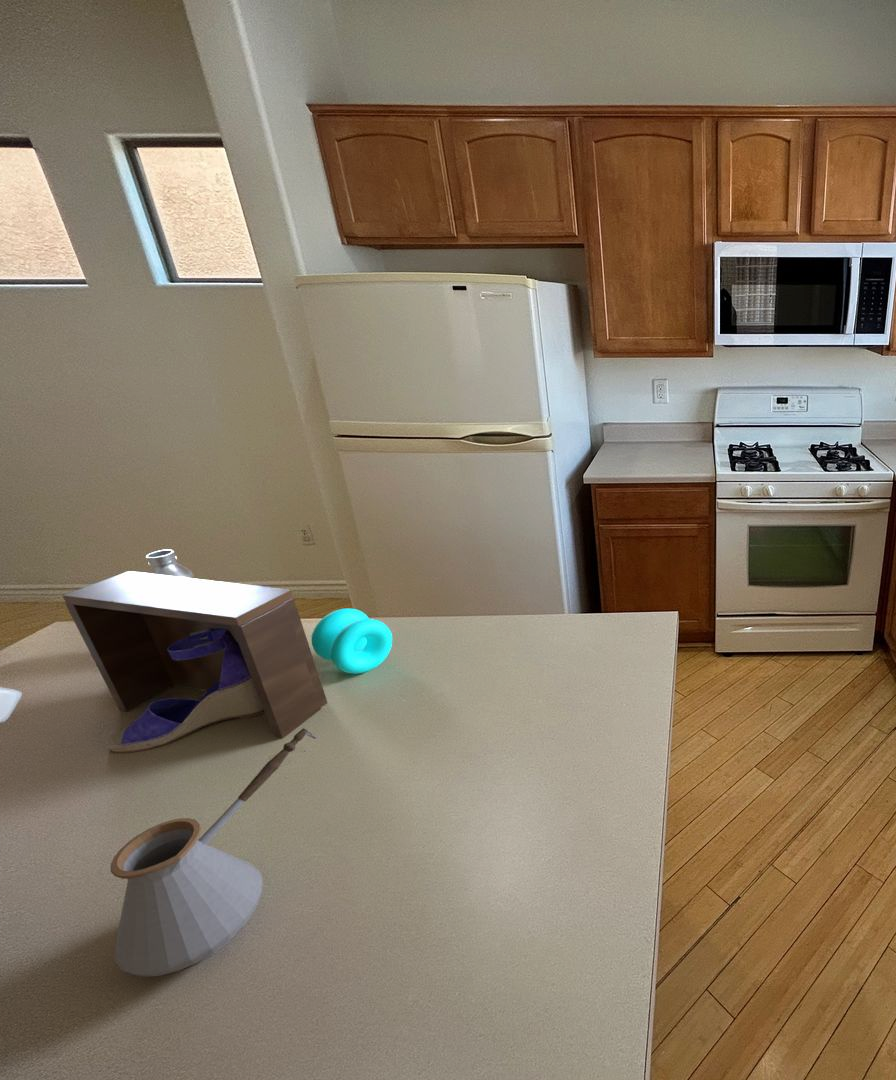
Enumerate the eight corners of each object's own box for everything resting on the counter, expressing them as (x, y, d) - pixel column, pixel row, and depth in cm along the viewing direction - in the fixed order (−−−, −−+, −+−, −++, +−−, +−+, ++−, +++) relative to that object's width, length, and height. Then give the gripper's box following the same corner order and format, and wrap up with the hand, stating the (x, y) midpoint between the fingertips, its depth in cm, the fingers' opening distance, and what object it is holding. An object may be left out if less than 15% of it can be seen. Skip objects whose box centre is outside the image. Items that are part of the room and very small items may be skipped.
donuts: (344, 686, 96) (329, 637, 93) (316, 667, 101) (301, 620, 98) (400, 658, 104) (389, 612, 100) (372, 642, 109) (360, 598, 105)
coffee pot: (170, 1012, 52) (103, 906, 46) (100, 964, 55) (30, 860, 50) (373, 829, 70) (344, 737, 64) (311, 802, 74) (278, 712, 68)
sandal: (131, 722, 87) (91, 642, 82) (280, 697, 94) (252, 620, 88) (98, 759, 80) (51, 674, 75) (261, 729, 87) (230, 648, 81)
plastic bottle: (175, 661, 102) (133, 564, 95) (176, 646, 107) (136, 552, 99) (221, 649, 106) (183, 554, 99) (220, 634, 111) (184, 543, 103)
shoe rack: (119, 710, 90) (60, 595, 82) (176, 678, 98) (127, 570, 90) (282, 738, 85) (237, 618, 76) (329, 702, 92) (292, 589, 84)
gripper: (-79, 664, 53) (88, 685, 65) (-228, 639, 56) (-41, 663, 69) (-127, 733, 50) (57, 741, 63) (-279, 702, 54) (-76, 716, 66)
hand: (5, 700), depth 66 cm, fingers closed
